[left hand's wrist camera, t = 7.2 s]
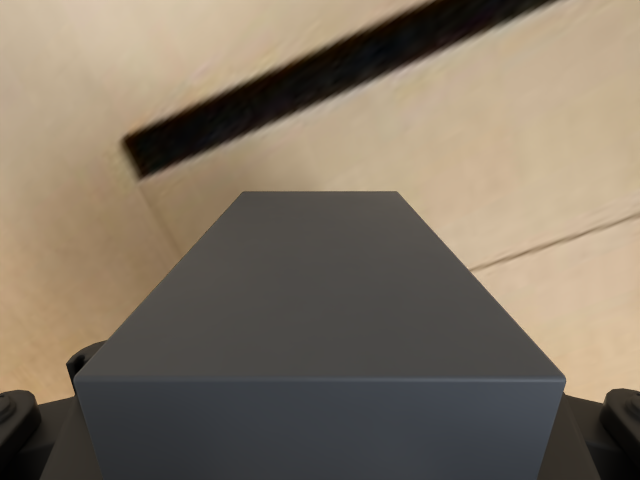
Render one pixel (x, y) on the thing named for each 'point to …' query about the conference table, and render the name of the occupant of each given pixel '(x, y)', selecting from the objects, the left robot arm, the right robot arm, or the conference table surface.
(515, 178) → the conference table surface
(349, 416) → the box
